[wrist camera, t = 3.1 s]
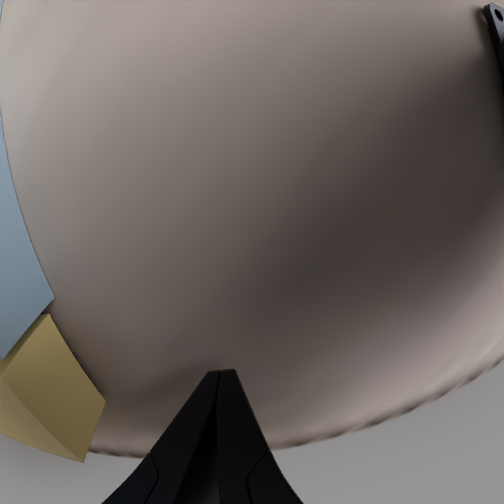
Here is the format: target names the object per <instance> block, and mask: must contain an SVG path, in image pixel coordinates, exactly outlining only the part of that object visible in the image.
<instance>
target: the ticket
mask: <svg viewBox="0 0 504 504" xmlns="http://www.w3.org/2000/svg"><path fill="white" fill-rule="evenodd" d="M2 1H3V0H0V16H1V8H2ZM54 298H55V297H54V295H53V292H52V290H51V288H50V286H49V284H48V282H47V279H46V277H45V275H44V273H43V270H42V268H41V266H40V263H39V261H38V258H37V256H36V253H35V251H34V248H33V245H32V243H31V240H30V237H29V234H28V232H27V229H26V226H25V223H24V220H23V217H22V213H21V210H20V207H19V203H18V200H17V196H16V193H15V189H14V185H13V181H12V177H11V173H10V168H9V164H8V159H7V154H6V148H5V143H4V136H3V130H2V122H1V114H0V359H4V358H5V356H6V355H7V354H8V352H9V351H10V350H11V348H12V347H13V346H14V345H15V343H16V342H17V341H18V340H19V338H20V337H21V336H22V335H23V334H24V332H25V331H26V330H27V329H28V328H29V326H30V325H31V324H32V323H33V322H34V320H35V319H36V318H37V317H38V316H39V315H40V313H41V312H42V311H43V310H44V309H45V308H46V307H47V306H48V304H49V303H50V302H51V301H52V300H53V299H54Z"/></svg>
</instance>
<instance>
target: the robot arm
mask: <svg viewBox="0 0 504 504" xmlns="http://www.w3.org/2000/svg"><path fill="white" fill-rule="evenodd" d="M483 10H484V14H485V17H486V20H487V23H488V26H489V29H490V32H491V36H492V39H493V43H494V46H495V50H496V54H497V58H498V63H499V67H500V72H501V77H502V83H503V88H504V8H502V7H500V6H498V5H496V4H493V3H491V4H488V5H485V6H484V8H483ZM102 504H303V502H302V501H301V500H300V498H299V497H298V496H297V494H296V493H295V492H294V491H293V489H292V488H291V486H290V485H289V483H288V482H287V480H286V479H285V477H284V476H283V474H282V472H281V470H280V468H279V466H278V465H277V463H276V461H275V459H274V457H273V454H272V452H271V451H270V448H269V446H268V444H267V442H266V440H265V437H264V435H263V433H262V431H261V429H260V426H259V424H258V422H257V420H256V417H255V415H254V413H253V410H252V408H251V406H250V403H249V401H248V399H247V396H246V394H245V392H244V389H243V387H242V384H241V382H240V380H239V377H238V375H237V372H236V370H235V369H225V370H222V371H221V370H215V371H209V372H207V373H206V375H205V376H204V378H203V379H202V381H201V382H200V383H199V385H198V386H197V388H196V389H195V390H194V392H193V393H192V395H191V396H190V397H189V399H188V400H187V401H186V403H185V404H184V406H183V407H182V408H181V410H180V411H179V412H178V414H177V415H176V417H175V418H174V419H173V421H172V422H171V423H170V425H169V426H168V427H167V429H166V430H165V431H164V433H163V434H162V436H161V437H160V438H159V440H158V441H157V442H156V444H155V445H154V446H153V447H152V449H151V450H150V453H148V454H147V455H146V457H145V458H144V459H143V460H142V462H141V463H140V464H139V465H138V467H137V468H136V469H135V470H134V472H133V473H132V474H131V475H130V476H129V477H128V478H127V479H126V480H125V481H124V482H123V483H122V484H121V486H119V488H117V489H116V490H115V491H114V492H113V493H112V494H111V495H110V496H109V497H108V498H107V499H106V500H105V501H104V502H103V503H102Z"/></svg>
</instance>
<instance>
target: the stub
mask: <svg viewBox="0 0 504 504" xmlns="http://www.w3.org/2000/svg"><path fill="white" fill-rule="evenodd" d="M105 404H106V401H105V399H104V398H103V397H102V395H101V394H100V393H99V392H98V390H97V389H96V387H95V386H94V385H93V383H92V382H91V381H90V379H89V378H88V376H87V375H86V373H85V372H84V371H83V369H82V368H81V366H80V365H79V363H78V362H77V360H76V359H75V357H74V355H73V354H72V352H71V351H70V349H69V347H68V346H67V344H66V343H65V341H64V339H63V338H62V336H61V334H60V332H59V331H58V329H57V327H56V325H55V324H54V322H53V320H52V318H51V316H50V314H40V315H39V316H38V317H37V318H36V319H35V320H34V322H33V323H32V324H31V325H30V326H29V328H28V329H27V330H26V331H25V332H24V334H23V335H22V336H21V337H20V338H19V340H18V341H17V342H16V343H15V345H14V346H13V347H12V348H11V350H10V351H9V352H8V354H7V355H6V356H5V358H4V359H0V433H1V434H3V435H5V436H8V437H10V438H12V439H14V440H17V441H19V442H22V443H24V444H27V445H29V446H32V447H34V448H37V449H40V450H43V451H46V452H49V453H52V454H55V455H58V456H61V457H64V458H68V459H72V460H75V461H79V462H82V463H83V462H84V460H85V457H86V454H87V451H88V448H89V446H90V443H91V440H92V437H93V435H94V432H95V429H96V427H97V424H98V421H99V419H100V416H101V414H102V411H103V409H104V406H105Z"/></svg>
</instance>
